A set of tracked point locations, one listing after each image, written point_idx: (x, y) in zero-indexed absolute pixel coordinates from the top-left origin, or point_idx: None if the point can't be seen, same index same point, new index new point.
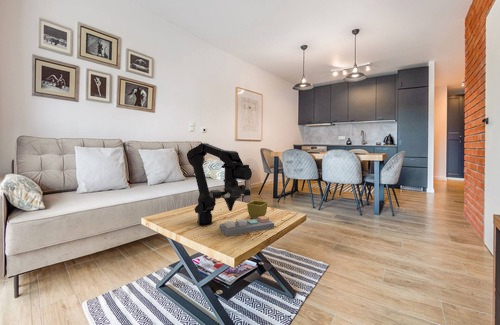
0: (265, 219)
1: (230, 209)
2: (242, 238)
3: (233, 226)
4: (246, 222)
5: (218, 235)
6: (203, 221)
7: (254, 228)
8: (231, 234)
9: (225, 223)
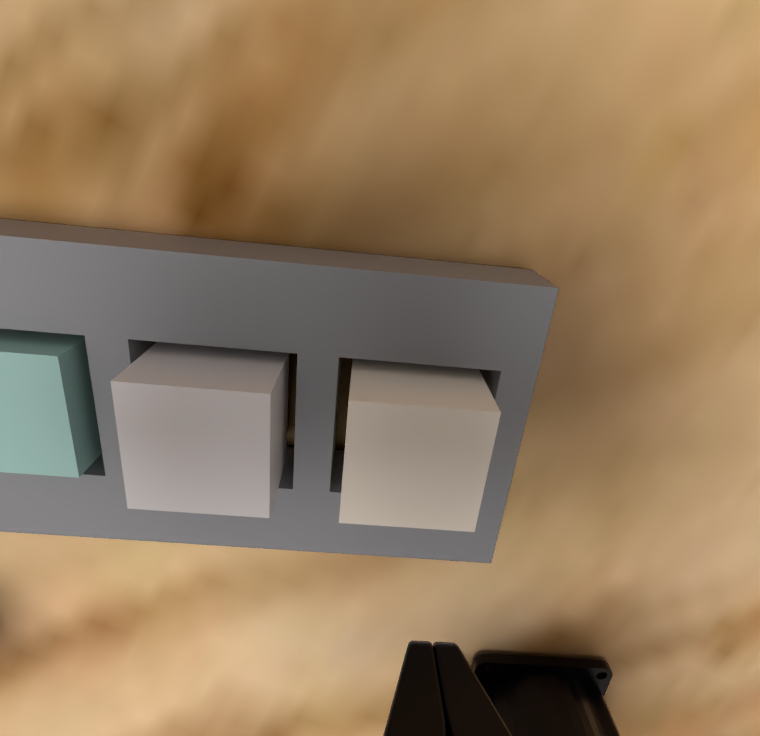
0: None
1: (452, 680)
2: (373, 68)
3: (384, 378)
4: (131, 373)
5: (597, 347)
6: (579, 705)
7: (56, 234)
8: (461, 264)
9: (479, 481)
